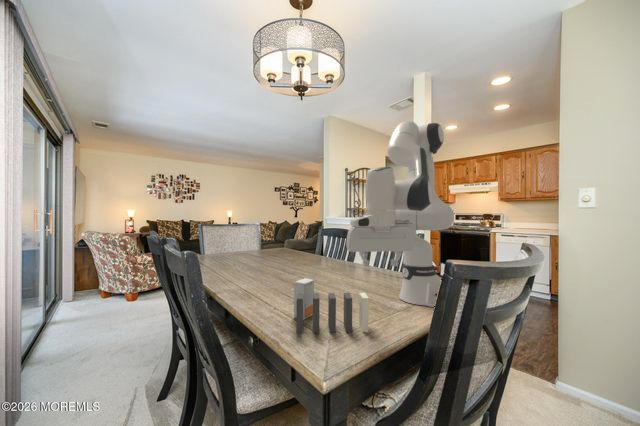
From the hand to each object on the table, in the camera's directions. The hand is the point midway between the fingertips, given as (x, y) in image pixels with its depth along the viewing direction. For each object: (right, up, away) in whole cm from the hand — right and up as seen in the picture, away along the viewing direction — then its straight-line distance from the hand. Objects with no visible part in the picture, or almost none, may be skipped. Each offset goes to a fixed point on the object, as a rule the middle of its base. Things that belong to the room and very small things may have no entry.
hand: (380, 266), depth 77 cm
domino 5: (-5, -19, 0) cm, 19 cm away
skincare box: (-24, -19, +9) cm, 31 cm away
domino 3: (-15, -19, 0) cm, 24 cm away
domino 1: (-24, -19, -1) cm, 31 cm away
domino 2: (-19, -19, -1) cm, 27 cm away
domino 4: (-10, -19, 0) cm, 21 cm away
